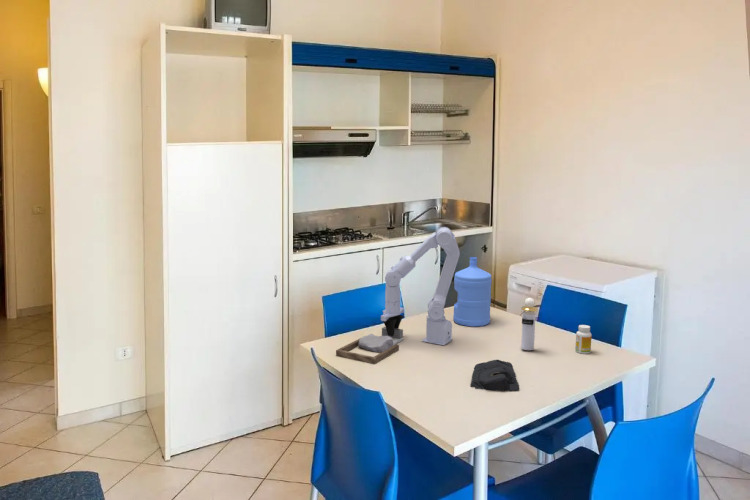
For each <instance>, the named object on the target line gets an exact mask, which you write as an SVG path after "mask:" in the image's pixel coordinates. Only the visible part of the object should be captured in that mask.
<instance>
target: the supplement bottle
mask: <svg viewBox="0 0 750 500" xmlns="http://www.w3.org/2000/svg"><path fill="white" fill-rule="evenodd" d="M592 336H593V335H592V333H591V326H590V325H586V324H579V325H578V331H576V333H575V352H576V353H577V354H583V355H588V354H590V353H591V352H592V351H591V349H592Z"/></svg>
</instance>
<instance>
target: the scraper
mask: <svg viewBox="0 0 750 500" xmlns="http://www.w3.org/2000/svg"><path fill="white" fill-rule="evenodd" d="M381 336H389V335H388V334H387V330H386V326H383V327H381ZM389 337H391V338H392V339H393V346H394V345H396V344H397V345H398V343H400V342H402V341H403V340H404V329H403V328H399V329H397V328H394V335H393V336H389Z"/></svg>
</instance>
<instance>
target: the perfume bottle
mask: <svg viewBox="0 0 750 500" xmlns="http://www.w3.org/2000/svg"><path fill="white" fill-rule="evenodd" d="M535 303H536V302H535V299H534V298H533V297H526V299H525V300H524V305H523V306H521V308H520V309H521V310H522V311H523V312H522V317H521V324H522V328H521V350H525V351H533V350H534V349H535V337H536V336H535V333H536V331H535V330H536V316H537V315H536V312H537V311H538V307H536V306H535Z"/></svg>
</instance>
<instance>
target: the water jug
mask: <svg viewBox="0 0 750 500" xmlns="http://www.w3.org/2000/svg"><path fill="white" fill-rule="evenodd" d="M453 281H454V282H453V283H454V285H453V287H454V290H455V291H456V292H457V302H455V303H454V305H453V316H452V318H453V319H452V320H453V322H454V323H456V324H457V325H460V326H464V327H471V328H472V327H483V326H487V325H489V324H490V322H491V303H492V296H491V295H492V293H491V291H492V282H493V281H492V275H491V273H489V272H488V271H485V270H484V269H481V268H480V267H478V257H476V256H470V257H469V266H468V267H466V268H463V269H461V270H458V271H455V272H454V279H453Z"/></svg>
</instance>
